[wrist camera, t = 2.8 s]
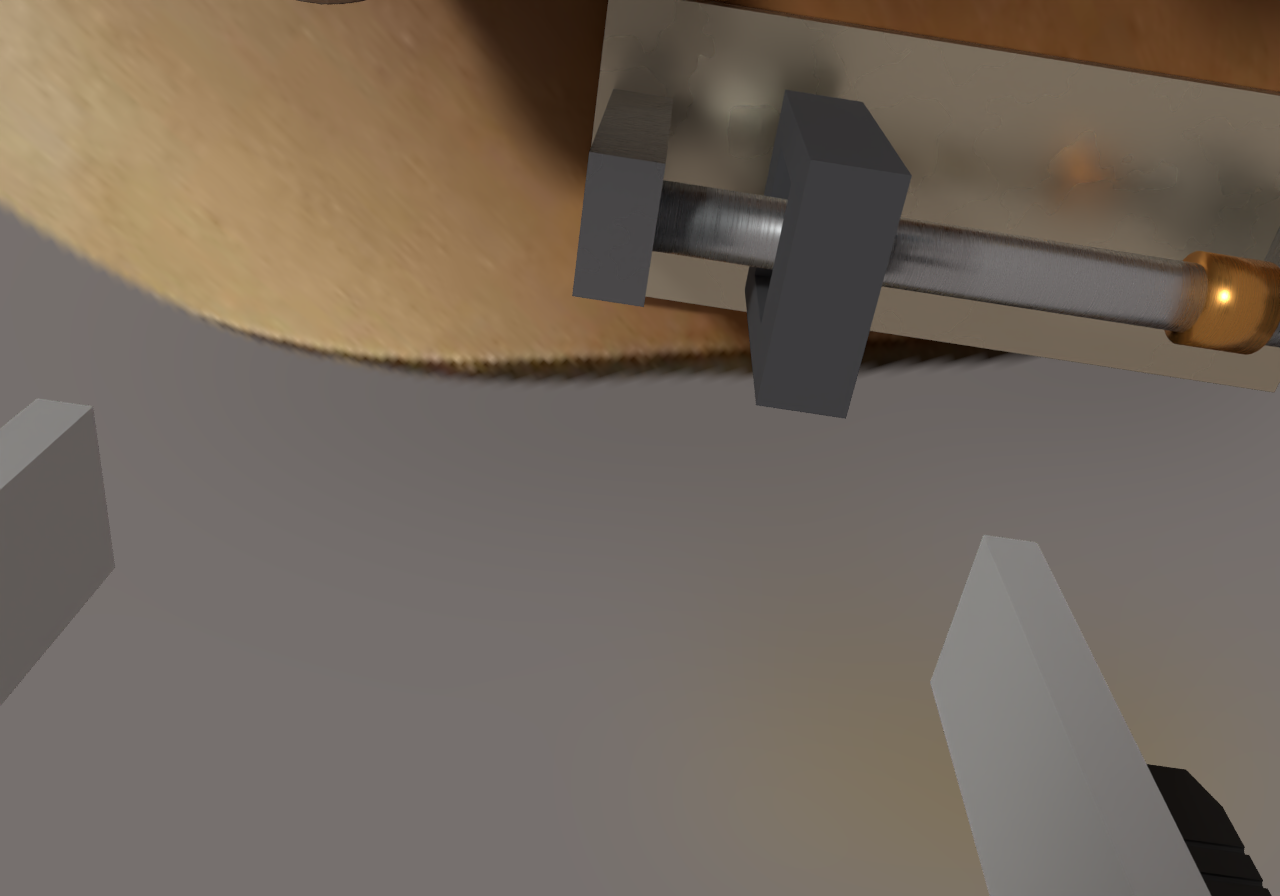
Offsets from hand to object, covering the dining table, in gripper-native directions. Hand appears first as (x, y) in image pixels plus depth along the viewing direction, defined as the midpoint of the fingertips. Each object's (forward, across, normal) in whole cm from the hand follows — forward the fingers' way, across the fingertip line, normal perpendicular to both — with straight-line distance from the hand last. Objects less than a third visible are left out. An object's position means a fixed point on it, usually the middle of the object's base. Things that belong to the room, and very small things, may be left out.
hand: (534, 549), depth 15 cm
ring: (+21, +6, 0) cm, 22 cm away
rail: (+24, +12, 0) cm, 27 cm away
